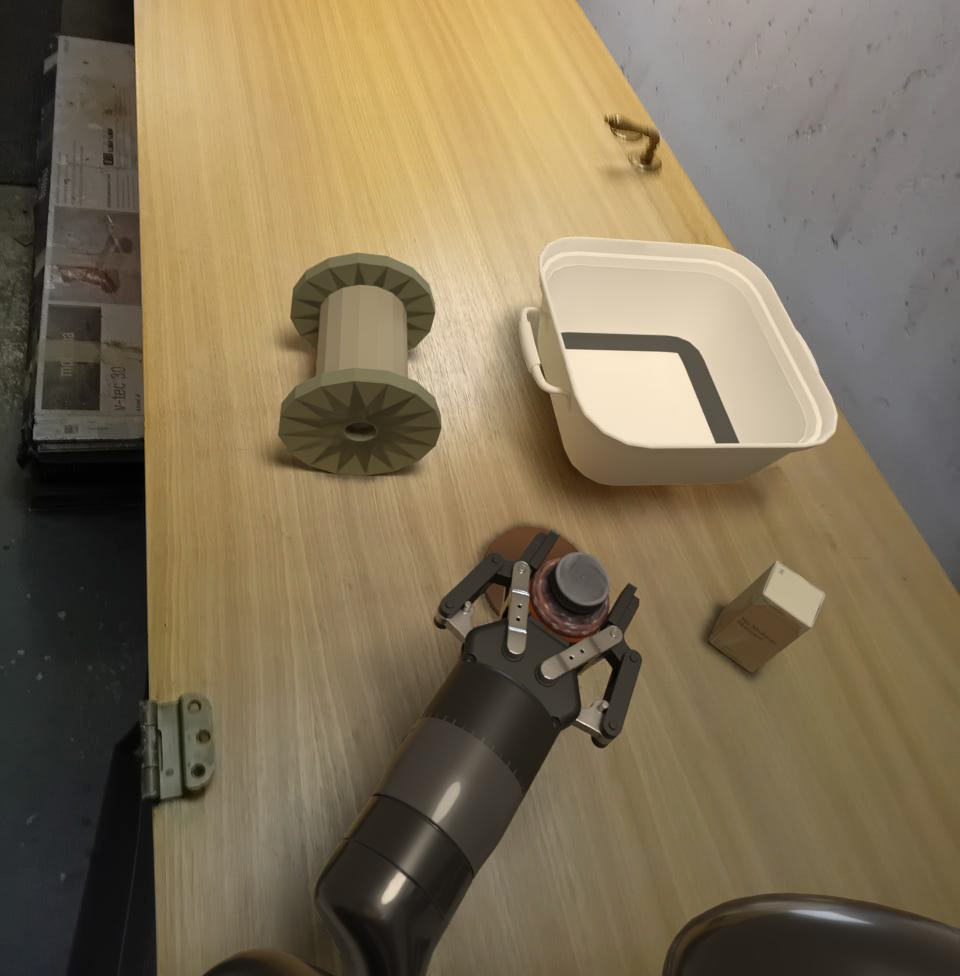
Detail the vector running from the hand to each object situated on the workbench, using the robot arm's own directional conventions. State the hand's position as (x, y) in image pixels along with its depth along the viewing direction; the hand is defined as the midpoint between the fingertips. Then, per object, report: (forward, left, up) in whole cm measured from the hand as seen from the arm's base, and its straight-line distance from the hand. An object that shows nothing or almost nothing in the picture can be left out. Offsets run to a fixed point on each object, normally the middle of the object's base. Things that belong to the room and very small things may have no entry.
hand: (589, 563), depth 61 cm
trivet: (+5, -7, -21) cm, 23 cm away
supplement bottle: (-1, +2, -10) cm, 10 cm away
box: (-11, -20, -21) cm, 31 cm away
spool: (+31, -3, -21) cm, 38 cm away
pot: (+14, -31, -21) cm, 40 cm away
